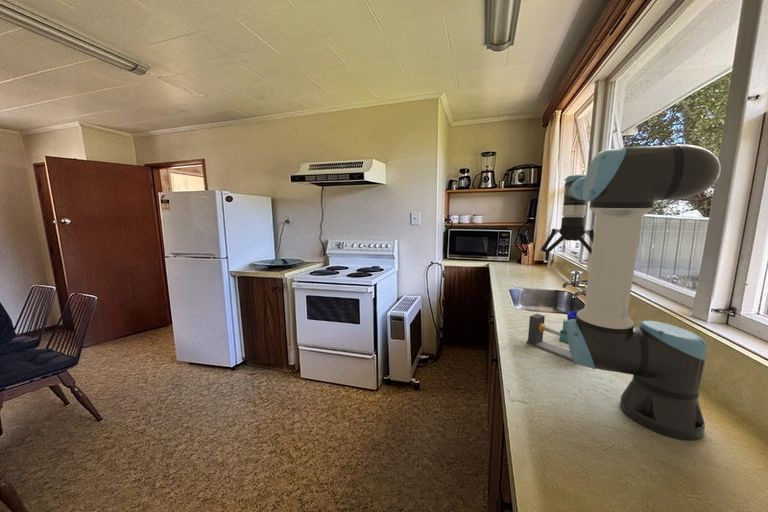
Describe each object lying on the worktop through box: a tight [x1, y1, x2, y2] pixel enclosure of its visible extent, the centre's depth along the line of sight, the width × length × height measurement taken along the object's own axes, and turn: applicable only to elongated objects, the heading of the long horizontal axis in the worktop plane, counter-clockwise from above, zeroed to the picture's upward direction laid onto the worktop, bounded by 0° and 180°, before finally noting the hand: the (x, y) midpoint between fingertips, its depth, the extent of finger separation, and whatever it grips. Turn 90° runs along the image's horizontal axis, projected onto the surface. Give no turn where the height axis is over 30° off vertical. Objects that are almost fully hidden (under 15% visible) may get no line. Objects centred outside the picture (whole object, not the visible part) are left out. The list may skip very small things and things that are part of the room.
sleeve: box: [558, 319, 569, 346], centre depth 102 cm, size 4×4×8 cm
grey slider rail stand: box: [525, 313, 574, 362], centre depth 106 cm, size 19×5×11 cm, turn 34°
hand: (568, 270), depth 117 cm, fingers open, 13 cm apart
